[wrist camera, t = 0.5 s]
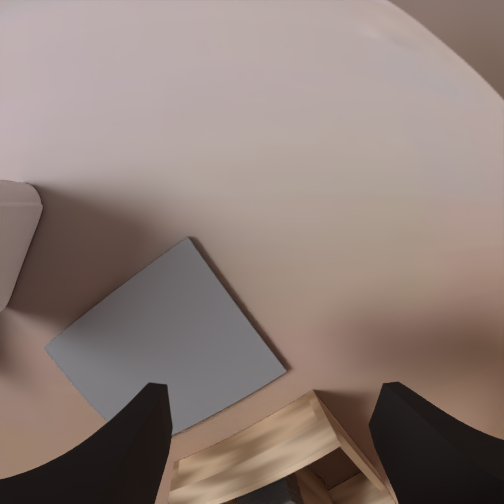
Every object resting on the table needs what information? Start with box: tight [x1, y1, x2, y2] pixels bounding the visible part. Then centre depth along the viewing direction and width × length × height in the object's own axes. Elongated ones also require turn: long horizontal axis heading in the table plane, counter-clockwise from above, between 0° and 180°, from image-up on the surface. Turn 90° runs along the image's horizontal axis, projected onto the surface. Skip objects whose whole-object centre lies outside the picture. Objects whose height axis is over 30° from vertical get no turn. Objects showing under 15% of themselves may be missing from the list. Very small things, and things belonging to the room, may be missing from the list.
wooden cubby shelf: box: [168, 390, 396, 504], centre depth 19 cm, size 13×13×6 cm
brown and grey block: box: [236, 466, 333, 504], centre depth 18 cm, size 4×9×7 cm, turn 34°
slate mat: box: [44, 236, 287, 435], centre depth 19 cm, size 14×11×1 cm
